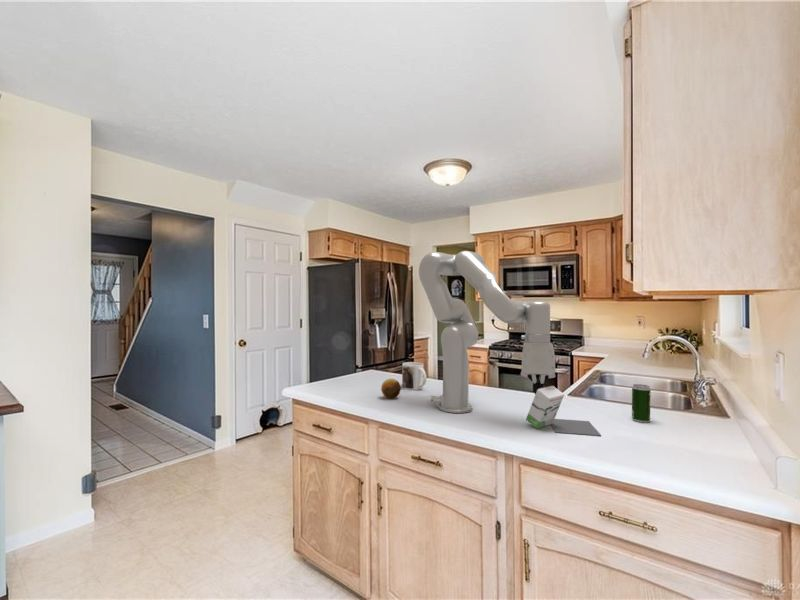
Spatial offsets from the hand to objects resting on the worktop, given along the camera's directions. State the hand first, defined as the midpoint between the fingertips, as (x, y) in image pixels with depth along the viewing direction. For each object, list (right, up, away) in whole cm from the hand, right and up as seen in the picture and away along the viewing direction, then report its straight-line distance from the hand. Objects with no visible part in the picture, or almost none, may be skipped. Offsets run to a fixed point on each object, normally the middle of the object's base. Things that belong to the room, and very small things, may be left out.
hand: (537, 394), depth 127 cm
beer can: (+37, -10, +5) cm, 39 cm away
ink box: (0, -9, 0) cm, 9 cm away
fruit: (-49, -10, +32) cm, 59 cm away
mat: (+11, -10, -2) cm, 15 cm away
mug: (-39, -10, +50) cm, 64 cm away
